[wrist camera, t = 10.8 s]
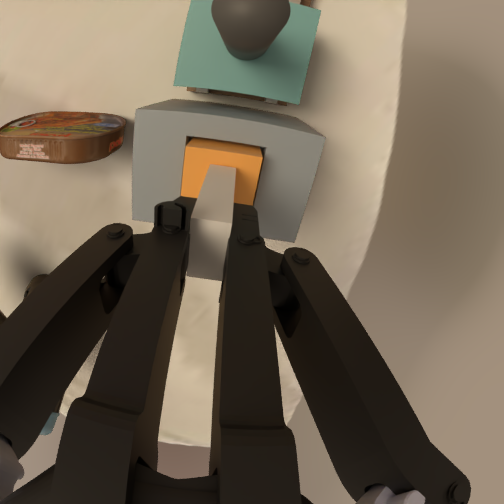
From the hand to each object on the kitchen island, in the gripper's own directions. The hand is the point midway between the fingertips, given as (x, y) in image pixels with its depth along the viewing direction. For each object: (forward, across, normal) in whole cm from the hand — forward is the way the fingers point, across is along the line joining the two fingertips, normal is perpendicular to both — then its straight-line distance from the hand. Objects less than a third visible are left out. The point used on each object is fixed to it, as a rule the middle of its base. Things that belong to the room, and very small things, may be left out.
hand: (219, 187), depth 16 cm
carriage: (+9, 0, +10) cm, 13 cm away
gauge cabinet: (+12, 0, 0) cm, 12 cm away
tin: (+12, -17, +1) cm, 21 cm away
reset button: (+3, 0, 0) cm, 3 cm away
